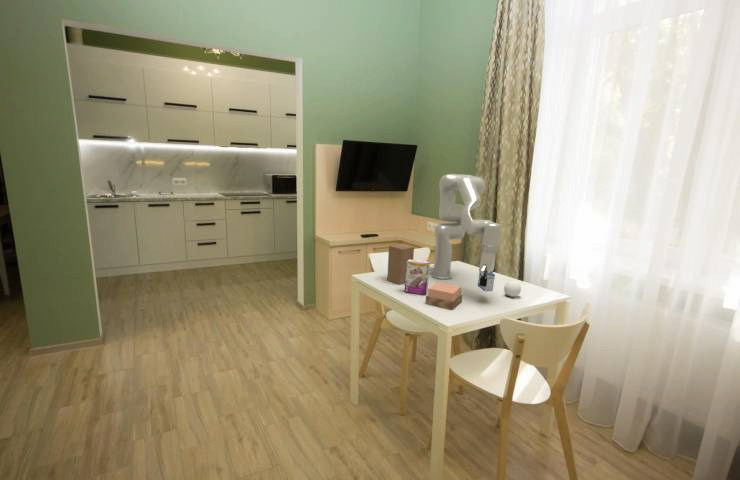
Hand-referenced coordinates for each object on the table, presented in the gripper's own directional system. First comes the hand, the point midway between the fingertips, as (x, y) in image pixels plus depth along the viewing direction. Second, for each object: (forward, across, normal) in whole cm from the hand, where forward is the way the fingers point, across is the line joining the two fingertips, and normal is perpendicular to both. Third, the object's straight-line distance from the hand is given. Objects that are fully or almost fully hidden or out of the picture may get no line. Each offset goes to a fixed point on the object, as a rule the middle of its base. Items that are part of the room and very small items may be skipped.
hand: (485, 283), depth 182 cm
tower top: (+5, +16, -14) cm, 22 cm away
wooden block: (+10, -1, -47) cm, 48 cm away
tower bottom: (+9, +16, -14) cm, 23 cm away
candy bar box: (+9, +11, -31) cm, 34 cm away
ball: (+9, -15, +10) cm, 20 cm away
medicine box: (+3, 0, 0) cm, 3 cm away
